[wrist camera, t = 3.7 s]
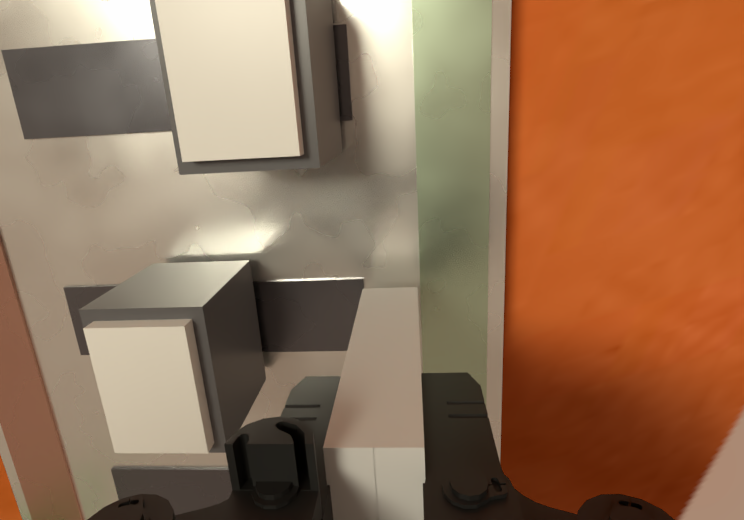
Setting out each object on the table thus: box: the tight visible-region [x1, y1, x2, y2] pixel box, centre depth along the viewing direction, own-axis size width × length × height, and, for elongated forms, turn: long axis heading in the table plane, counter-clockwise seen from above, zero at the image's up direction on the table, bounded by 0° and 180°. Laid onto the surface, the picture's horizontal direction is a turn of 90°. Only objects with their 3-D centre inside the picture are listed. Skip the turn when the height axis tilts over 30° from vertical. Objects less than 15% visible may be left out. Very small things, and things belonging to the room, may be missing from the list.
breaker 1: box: [149, 0, 342, 175], centre depth 11 cm, size 3×4×4 cm
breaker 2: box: [79, 260, 266, 453], centre depth 13 cm, size 3×4×4 cm
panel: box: [0, 0, 512, 520], centre depth 16 cm, size 18×22×2 cm
